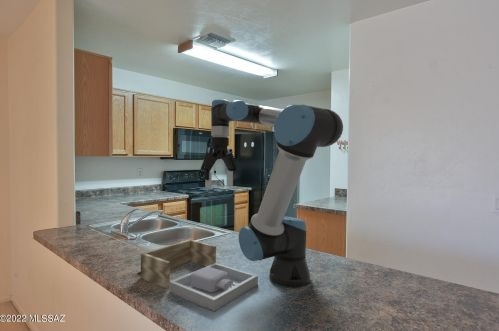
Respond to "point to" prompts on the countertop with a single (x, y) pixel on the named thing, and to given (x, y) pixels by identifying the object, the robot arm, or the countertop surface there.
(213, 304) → the tray
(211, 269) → the charger
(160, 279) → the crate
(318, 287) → the countertop surface
